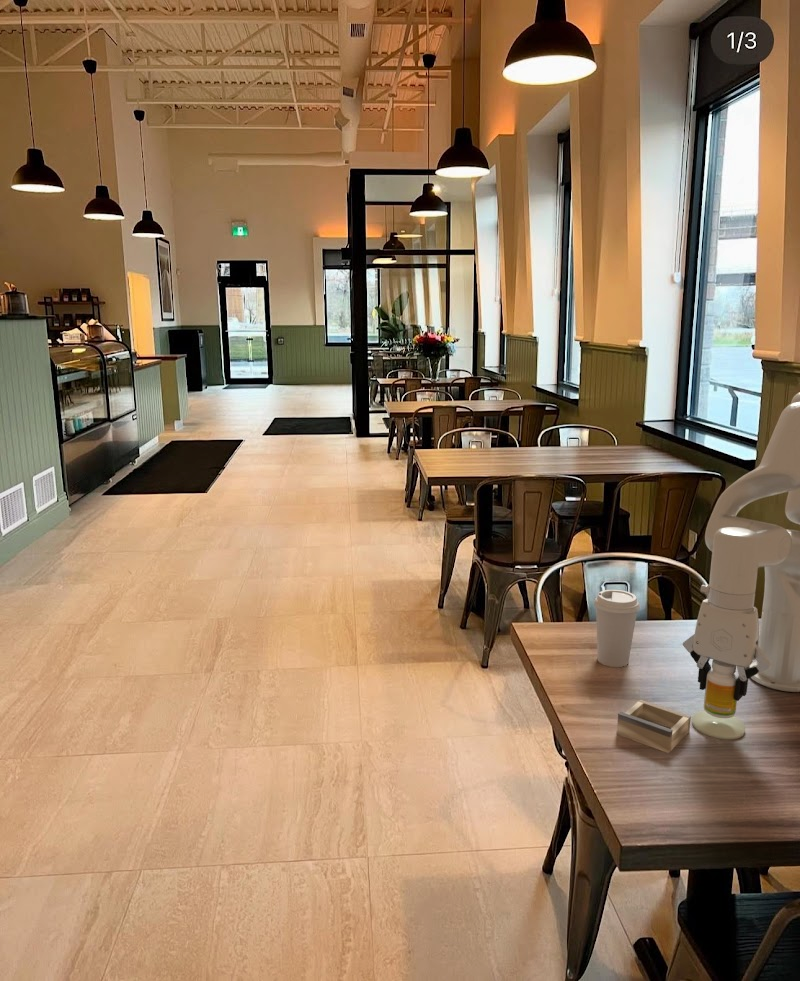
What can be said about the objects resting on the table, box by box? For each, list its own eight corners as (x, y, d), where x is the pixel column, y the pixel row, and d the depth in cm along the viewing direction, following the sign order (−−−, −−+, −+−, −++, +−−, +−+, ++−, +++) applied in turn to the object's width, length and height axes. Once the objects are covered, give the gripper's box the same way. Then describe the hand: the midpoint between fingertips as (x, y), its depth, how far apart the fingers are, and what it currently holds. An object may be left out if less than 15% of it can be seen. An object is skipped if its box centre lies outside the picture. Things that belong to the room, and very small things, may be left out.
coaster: (702, 709, 146) (702, 705, 146) (751, 725, 140) (752, 721, 140) (684, 727, 140) (684, 723, 139) (735, 745, 134) (735, 740, 134)
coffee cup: (601, 647, 173) (605, 585, 170) (642, 659, 167) (647, 594, 164) (582, 662, 166) (586, 596, 163) (624, 674, 160) (629, 607, 157)
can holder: (639, 714, 144) (640, 694, 143) (689, 731, 138) (691, 711, 137) (616, 734, 137) (618, 713, 136) (668, 753, 131) (670, 732, 130)
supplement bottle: (738, 720, 136) (744, 670, 134) (706, 717, 137) (711, 667, 135) (731, 706, 141) (737, 657, 139) (700, 703, 142) (705, 654, 140)
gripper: (674, 592, 137) (666, 685, 141) (776, 615, 126) (765, 716, 130) (690, 581, 143) (682, 671, 147) (789, 603, 132) (778, 700, 136)
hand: (721, 691), depth 138 cm, fingers closed on supplement bottle, 5 cm apart
